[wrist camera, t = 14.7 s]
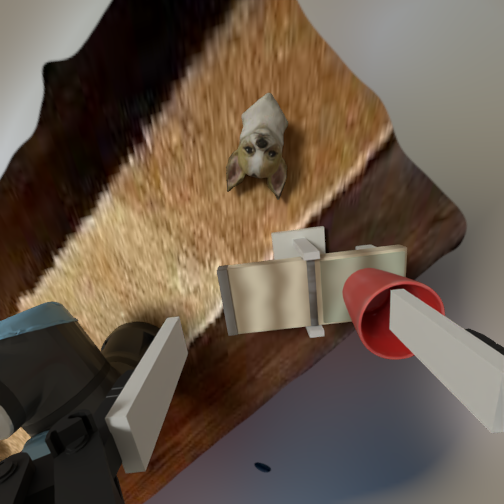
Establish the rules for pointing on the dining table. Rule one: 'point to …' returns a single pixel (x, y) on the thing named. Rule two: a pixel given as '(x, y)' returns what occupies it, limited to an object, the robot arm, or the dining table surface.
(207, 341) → the dining table surface
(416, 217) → the dining table surface
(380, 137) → the dining table surface
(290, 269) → the beam
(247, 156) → the ceramic sculpture
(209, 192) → the dining table surface
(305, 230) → the stand
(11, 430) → the robot arm
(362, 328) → the flower pot
